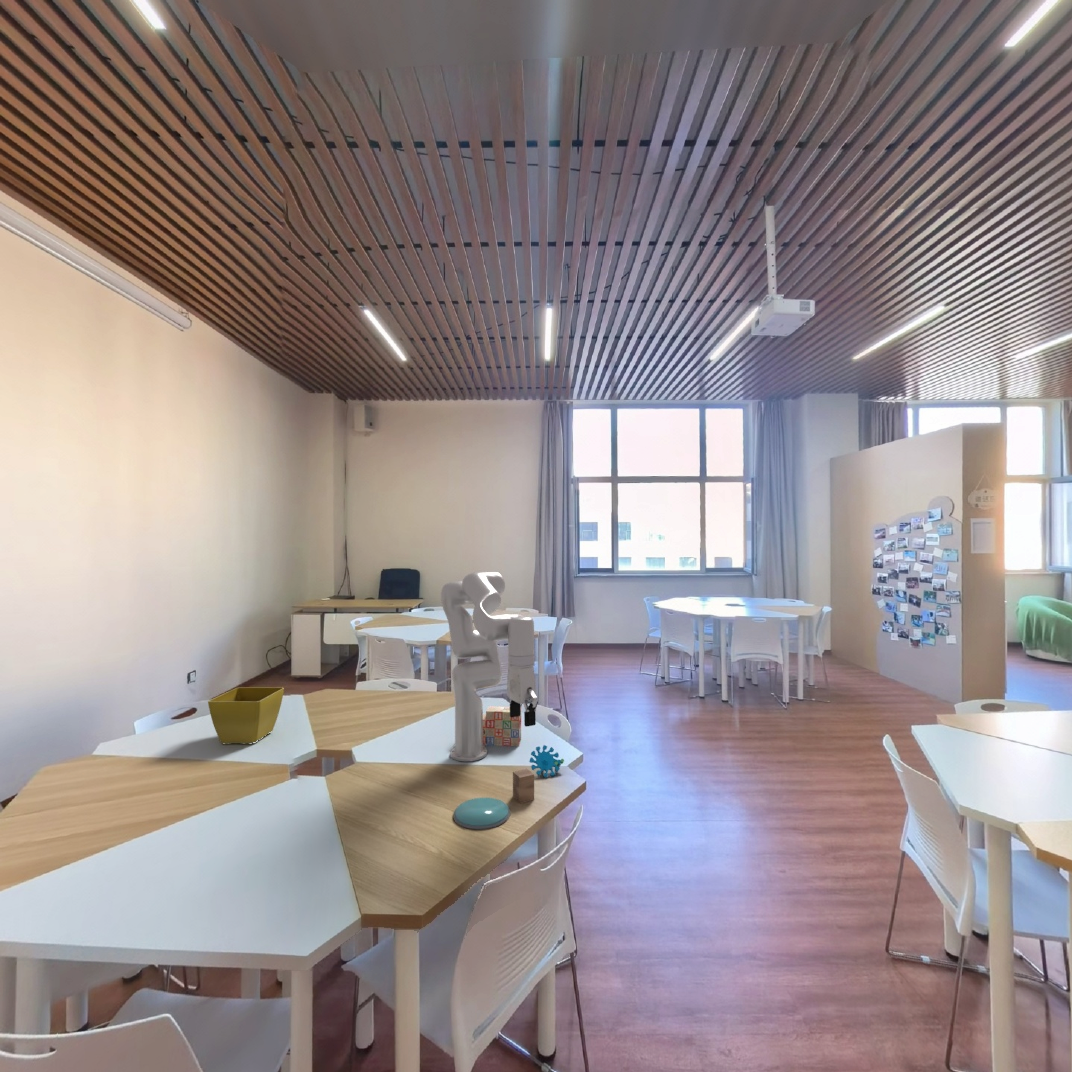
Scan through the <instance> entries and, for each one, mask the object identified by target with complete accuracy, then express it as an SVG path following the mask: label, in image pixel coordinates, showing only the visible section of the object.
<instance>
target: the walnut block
mask: <svg viewBox="0 0 1072 1072" xmlns="http://www.w3.org/2000/svg"><path fill="white" fill-rule="evenodd" d="M512 797H513V798H514V799H515V800H516V801H517V802H518V803H520V804H522V803H526V802H529V801H533V800H535V774H534V773H533V772H532V771H530V769H528V768H523V769H519V770H513V771H512Z"/></svg>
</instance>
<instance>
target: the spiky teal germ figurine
mask: <svg viewBox="0 0 1072 1072" xmlns="http://www.w3.org/2000/svg"><path fill="white" fill-rule="evenodd" d="M547 748H548V745H545V744H543V746H542V752H540V750H541V747H540V746H536V747H535V750H536V751H535V750H532V751H531V753H530V755H531V757H530V758H529V761H528V762H529V763H533V764H532V765H531V766H530V767H531V770H532V771H535V770H536V769H540V770H537V771H536V772H535V773H536V775H537V776H540V775H541V773H542V772H543V775H542V777H543V778H547V779H548V776H549V775H550V777H555V774H556V773H557V772H559V771H560V769H561V768H560V767H561V765H562V764H564V762H565V759H564V758H561V759H557V758H559V757H560V756H559V752H555V753H553V752H554V748H553V747H552V746H551V747H549V750H547ZM546 750H547V751H546ZM536 752H537V754H536ZM532 756H533V757H534V758H535V759H534V758H533V757H532ZM554 757H555V758H554ZM553 768H554V770H553ZM544 771H545V772H544ZM549 771H550V773H549V775H548V772H549ZM555 772H556V773H555Z"/></svg>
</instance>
